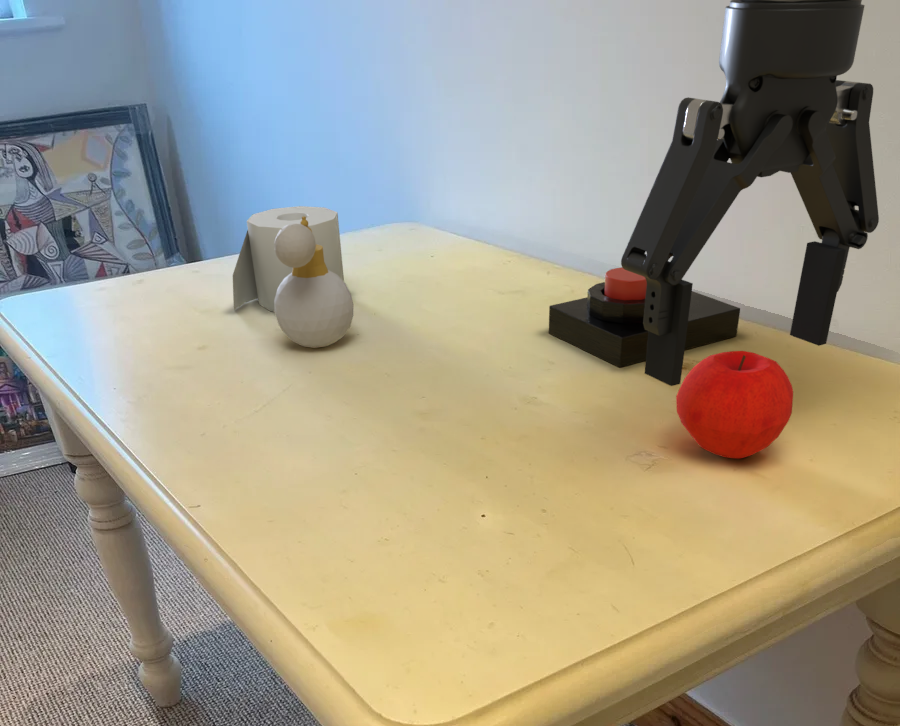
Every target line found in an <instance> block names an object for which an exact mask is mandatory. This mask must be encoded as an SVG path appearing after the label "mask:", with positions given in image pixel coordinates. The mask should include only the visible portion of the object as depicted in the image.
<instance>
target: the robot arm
mask: <svg viewBox="0 0 900 726" xmlns="http://www.w3.org/2000/svg"><path fill="white" fill-rule="evenodd" d="M862 1H863V0H730V1H729V5H726V6H725V11H724V19H723V26H722V33H721V42H720V51H719V58H718V65H719V68H720V70H721V71H722V73H723V74H724V77H725V87H724V90H723V94H722V97H721V98H720V101H716V100H714V101H713V100H709V99H707V100H706V99H701V98H695V97H688V96H687V97H684V98H683V99H681V101H680V103H679V104H678V107H677V113H676V117H675V123H674V129H673V134H672V139H671V142H670V145H669V147H668V149H667V152H666V154H665V156H664V159H663V161H662V163H661V165H660V167H659V171H658V172H657V175H656V177H655V179H654V182H653V185H652V186H651V189H650V191H649V194H648V196H647V198H646V200H645V203H644V205H643V208H642V210H641V212H640V214H639V216H638V219H637V221H636V223H635V225H634V226H635V227H634V228H633V231H632V233H631V236H630V238H629V240H628V242H627V245H626V247H625V250H624V252H623V254H622V256H621V260H620V265H621V267H622V268H623V269H625V270H627V271H630V272H633V273H635V274H638V275H641V276H644V277H645V279H646V282H647V287H646V297H645V308H644V318H643V324H644V328H645V330H647V331H649V334H648V344H647V354H646V361H645V366H644V374H645V375H647V376H649V377H651V378H653V379H655V380H657V381H660V382H661V383H663V384H666V385H667V386H670V387H675V386H678V385H681V381H682V374H683V373H682V372H683V363H684V357H685V351H686V350H685V342H686V333H687V325H688V317H689V309H690V301H691V293H692V291H693V282H690V281H687V280H685V279H683V278H684V277H685V275H686V274H687V272H688V271H689V269H690V268H691V266H692V265H693V263H694V262H695V261H696V259H697V257H698V256H699V254H700V253H701V251H702V250H703V248H704V247H705V245H706V244H707V242H708V241H709V239H710V238H711V236H712V235H713V233H714V232H715V230H716V229H717V227H718V226H719V224H720V223H721V221H722V220H723V218H724V217H725V215H726V213H727V212H728V210H729V209H730V208H731V206H732V205H733V203H734V202H735V200H736V199H737V198H738V195H739V194H740V193H741V192H742V191H743V190H745V189H748V188H749V187H751V186H752V184H754V182H755V180H756V179H757V178H766V177H771V176H774V175H775V174H777V173H779V172H784V173H787V174H790V175H791V177H792V180H793V182H794V184H795V186H796V189H797V191H798V194H799V196H800V198H801V200H802V203H803V205H804V208H805V211H806V212H807V214H808V217H809V220H810V221H811V224H812V226H813V228H814V230H815V233H816V236H817V238H818V239H819V240H821V242H819V241H815V240H814V241H809V242H806V247H805V252H804V257H803V263H802V268H801V273H800V278H799V284H798V289H797V295H796V300H795V305H794V310H793V315H792V320H791V325H790V332H789V336H791V337H794V338H796V339H799V340H802V341H804V342H807V343H810V344H812V345H815V346H817V347H820V346H823V345H827V341H828V336H829V332H830V327H831V323H832V318H833V313H834V308H835V304H836V300H837V294H838V292H839V291H840V289H841V286H842V284H843V279H844V274H845V269H846V266H847V261H848V256H849V252H850V248H852V249H856V250H861V249H863V248H864V247H865V245H866V244H867V241H868V237H869V236H868V235H869V234H871V233H873V232H874V231H875V230H876V229H877V227H878V226H879V222H880V217H879V207H878V198H877V196H878V195H877V186H876V177H875V176H876V175H875V166H874V156H873V147H872V146H873V145H872V137H871V128H870V127H871V126H870V118H871V112H872V103H873V97H874V86H873V84H871V83H867V82H859V81H850V80H840V79H839V80H837V77H838V76H841V75H844V74H846V73H847V72H848V71H849V70H850V69H851V68H852V67H853V65H854V62H855V57H856V52H857V46H858V41H859V36H860V31H861V25H862V22H863V15H864V11H865V7H866V5H865V4H862ZM729 160H730V162H729ZM856 207H857V208H858V209H856ZM671 258H672V259H671ZM670 259H671V260H670ZM669 260H670V261H669Z"/></svg>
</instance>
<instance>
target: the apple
mask: <svg viewBox="0 0 900 726" xmlns="http://www.w3.org/2000/svg"><path fill="white" fill-rule="evenodd" d="M675 399H676V401H675V402H676V404H675V405H676V413H677V416H678V418H679V420H680V423H681V425H682V426H683V427H684V428H685V430H686V432H687V433H689V435H690V436H691V437H692V439H693V440H694V441H695V442H696V444H697V445H698V446H699V447H700V448H701V449H702V450H705V451H707V452H710V453H711V454H713V455H716V456H720V457H723V458H726V459H743V458H744V459H745V458H747V457H750V456H752V455H755V454H756V453H757V454H758V453H759V452H761V451H763V450H765V449H767V448H768V447H769V446H770V445H771V444H772V443H773V442H774V441H775V440H777V439H778V438H779V436H780V435H781V434H782V432H783V430H784V429H785V428H786V426H787V424H788V422H789V421H790V418H791V416H792V414H793V400H794V388H793V385H792V383H791V380H790V378H789V376H788V375H787V373H786V371H785V370H784V368H782V366H781V365H780V364H779V363H778V362H777V361H776V360H774V359H771V358H769V357H767V356H763V355H761V354H758V353H756V352H751V351H745V350H730V351H722V352H719V353H713V354H710V355H708V356H706V357H704V358H703V359H702V360H700V361H699V362H698V363H697V364H695V365H694V366H693V367H692V368H691V369H690V370H689V372H688V373H687V374H686V376H685V377H684V379H683V381H682V383H681V384H680V386H679V389H678V391H677V393H676V395H675Z"/></svg>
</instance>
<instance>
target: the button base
mask: <svg viewBox="0 0 900 726" xmlns="http://www.w3.org/2000/svg"><path fill="white" fill-rule="evenodd" d="M604 290H605V281H604V282H603V281H602V282H598V283H595V284H594V285H592V286H591V287H589V288H588V289H587V297H583V298H577V299H573V300H568V301H565V302H561V303H555V304H552V305H551V304H550V305H549V309H548V310H549V311H548V334H550V335H552V336H553V337H555V338H558V339H559V340H562V341H564V342H565V343H568V344H570V345H572V346H575V347H576V348H577V349H580V350H583V351H585V352H586V353H589V354H591V355H593V356H595V357H597V358H599V359H601V360H603V361H605V362H606V363H607V362H608V363H610V364H612V365H614V366H616V367H618V368H624V367H627V366H630V365H634V364H637V363H642V362H646V354H647V344H648V334H649V331H647V330H645V328H644V324H643V318H644V308H645V299H642V300H620V299H612V298H610V297H607V296H605V295H604ZM740 315H741V308H740V307H738V306H735V305H732V304H730V303H727V302H724V301H721V300H718V299H715V298H713V297H710V296H708V295H704V294H701V293H699V292H696V291H693V290H692V293H691V301H690V309H689V317H688V325H687V333H686V342H685V350H684V351H686V350H691V349H694V348H698V347H702V346H705V345H709V344H713V343H716V342H720V341H724V340H727V339H731V338H736V337H737V335H738V327H739V320H740Z"/></svg>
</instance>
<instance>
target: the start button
mask: <svg viewBox="0 0 900 726" xmlns="http://www.w3.org/2000/svg"><path fill="white" fill-rule="evenodd" d="M604 282H605V290H604V295H605V296H607V297H610V298H612V299H620V300H642V299H645V297H646V287H647V282H646V279H645V277H644V276H641V275H638V274H635V273H633V272H630V271H627V270H625V269H623V268H622V266H621V267H616V268H615V267H614V268H612V269H609V270H607V271H606V272H605V276H604Z"/></svg>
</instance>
